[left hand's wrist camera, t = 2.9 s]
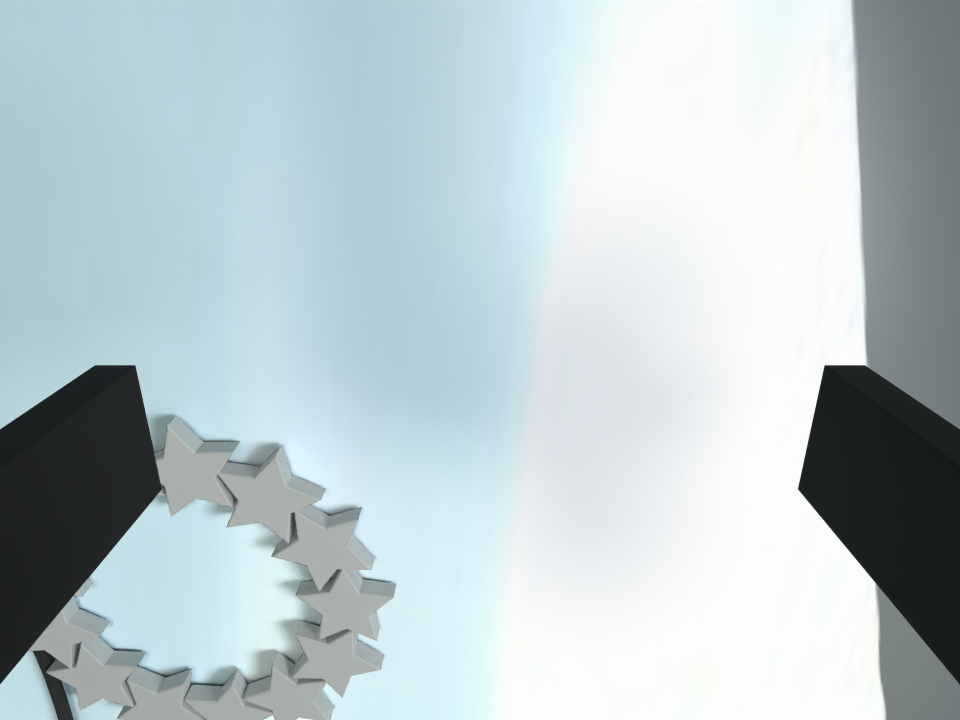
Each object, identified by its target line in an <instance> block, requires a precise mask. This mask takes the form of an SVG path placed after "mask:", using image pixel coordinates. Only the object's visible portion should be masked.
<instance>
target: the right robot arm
mask: <svg viewBox="0 0 960 720" xmlns="http://www.w3.org/2000/svg"><path fill="white" fill-rule="evenodd" d="M33 652H34V654H35V657H36V659H37V661H38V663H39V666H40V668H41V671H42V673H43V676H44V679H45V681H46V684H47V687H48V689H49V692H50V695H51V698H52V701H53V704H54V707H55V710H56V713H57V716H58V720H73V716H72V713H71V709H70V706H69V703H68V699H67V696H66V693H65V690H64V687H63V684H62V682H61V680H60V679H58V678H56V677H54V676H52V675H50V674H48V673H47V670H48V669H49V668H50V666H51V665H52V664H53V662H54V660H53V657H52V655H51V654H49V653H48V652H47V651H45V650H37V651H33Z"/></svg>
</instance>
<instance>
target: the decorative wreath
mask: <svg viewBox="0 0 960 720" xmlns="http://www.w3.org/2000/svg"><path fill="white" fill-rule="evenodd" d="M239 442H240V441H230V442H203V441H202V440H201V439H200V438H199V437H198V436H197V435H196V434H195V433H194V432H193V431H192V430H191V429H190V428H189V427H188V426H187V425H186V424H185V423H184V422H183V421H182V420H181V419H180V418H179V417H178V416H176V417H175V418H174V419H173V420H172V421H171V422H170V423H169V424H168V425H167V432H166V440H165V447H164V450H161V451H158V452H155V453H154V454H155V459H156V464H157V468H158V473H159V478H160V482H161V487H162V490H161V491H160V492H159V493H158V495H157V496H162V495H165V494H166V495H167V500H168V504H169V509H170V513H171V517H172V516H173V515H175V514H176V513H177V512H179V511H180V510H181V509H183V508H184V507H185V506H187V505H188V504H189V503H191V502H192V501H193V500H195V499H196V498H197V499H201V500H205V501H209V502H213V503H217V504H221V505H225V506H229V507H232V508H233V506H234V505H235V503H236V502H237V500H238V502H237V504H236V506H235V509H234V511H233V513H232V515H231V518H230V520H229V522H228V524H227V527H232V526H239V525H246V524H253V523H260V522H261V523H262V524H264V525H265V526H266V527H268V528H269V529H270V530H272V531H273V532H274V533H276V534H277V535H278V536H280V537H281V538H282V539H284V540H282V541H281V542H279V543H277V545H276V547H275V549H274V552H273V554H272V557H275V558H279V559H283V560H287V561H291V562H295V563H299V564H303V565H306V567H307V569H308V571H309V573H310V575H311V577H312V579H313V581H307V582H301V583H300V585H299V588H298V591H297V593H296V596H297V597H298V598H300V599H301V600H302V601H304V602H305V603H306V604H308V605H309V606H311V607H312V608H313V609H315V610H316V611H317V612H319V613H320V614H322V616H321V624H320V626H317V625H314V624H310V623H306V622H303V621H300V623H299V626H298V629H297V631H296V634H295V635H296V637H297V639H298V641H299V643H300V645H301V647H302V649H303V651H304V652H305V653H304V654H303V655H302V657H301V658H300V659H299V660H298V661H297V662H296V663H295V664H294V663H292V662H291V661H290V660H288V659H287V658H286V657H284V656H283V655H282V654H280V653H279V652H277V654H276V657H275V660H274V662H273V665H272V672H271V676H270V677H267V678H264V679H261V680H258V681H255V682H253V683H250V684H248V685H247V683H246V681H245V679H244V678H243V676H242V674H241V672H240V670H239V669H238V670H237V671H236V672H235V673H234V674H233V675H232V676H231V678H230V679H229V680H228V681H227V682H226V683H225V684H224V686H210V685H192V686H191V688H190V682H191V671H192V669H189V670H186V671H183V672H181V673H178V674H175V675H172V676H169V677H166V678H165V677H163V676H161V675H158V674H156V673H153V672H151V671H148V670H146V669H144V668H141V667H139V666H138V664H139V663H140V661H141V659H142V658H143V656H144V654H145V653H146V652H135V651H116V650H113V649H112V648H111V647H110V646H109V645H108V644H107V643H106V642H105V641H104V640H103V639H102V638H100V637H99V636H100V635H101V634H102V633H103V631H104V630H105V628H106V627H107V626H108V624H109V623H110V622H109V621H108V620H105V619H103V618H100V617H98V616H96V615H93V614H91V613H89V612H86V611H84V610H82V609H79V608H78V605H77V602H76V599H75V597H74V596H78V597H83V595H84V594H85V593H86V592H87V590H88V589H89V588H90V587H91V585H92V584H93V583H92V581H91V580H90V579H89V578H88V579H87V580H86V581H85V583H84V584H83V585H82V586H81V587H80V589H79V590H78V591H77V592H76V593H75V595H74V596H73V597H72V598H71V599H70V601H69V602H68V603H67V604H66V605H65V607H64V608H63V609H62V610H61V612H60V613H59V614H58V615H57V616H56V618H55V619H54V620H53V621H52V622H51V624H50V625H49V626H48V627H47V628H46V630H45V631H44V632H43V633H42V634H41V636H40V637H39V638H38V639H37V640H36V642H35V643H34V644H33V645H32V646H31V648H30V649H29V650H28V651H37V650H45V651H47V652H48V653H49V654H51V655H52V656H53V657H55V658H56V660H55V661H54V662H53V664H52V665H51V666H50V668H49V669H48V670H47V673H48V674H50V675H52V676H54V677H56V678H58V679H60V680H61V681H63V682H65V683H67V684H69V685H71V686H73V687H75V688H76V692H77V697H78V702H79V707H80V710H82V709H84V708H86V707H88V706H89V705H91V704H93V703H95V702H97V701H99V700H101V699H106V700H109V701H113V702H116V703H120V704H123V705H124V707H123V709H122V710H121V712H120V714H119V716H118V717H117V719H121V720H263V719H265V718H267V717H269V716H272V715H274V718H275V720H296V719H297V718H299V717H300V718H306V719H313V720H331V716H332V712H333V708H334V706H333V705H332V703H331V702H330V701H329V699H328V698H327V697H326V696H325V694H324V693H323V692H322V689H323V687H324V686H325V684H326V683H328V684H329V685H330V686H331V687H332V688H333V689H334V690H335V691H336V692H337V693H338V694H339V695H340V696H341V697H342V698H343V695H344V693H345V690H346V687H347V685H348V682H349V679H350V677H351V676H353V675H357V674H362V673H367V672H372V671H376V670H381V668H382V662H383V656H384V655H383V654H382V653H380V652H378V651H376V650H374V649H372V648H371V647H369V646H367V645H365V644H363V643H362V642H360V641H358V640H357V633H359V634H361V635H364V636H366V637H369V638H371V639H373V640H376V641H377V639H378V634H379V629H380V625H379V621H378V618H377V614H376V611H377V610H378V609H379V608H380V607H382V606H383V605H384V604H386V603H387V602H388V601H389V600H391V599H392V598H393V597H394V592H395V587H396V584H394V583H387V582H380V581H372V580H365V579H362V577H361V576H360V574H359V573H358V571H357V570H372V566H373V562H374V556H373V555H372V554H371V553H370V552H369V551H368V549H367V548H366V547H365V546H364V545H363V544H362V543H361V542H360V541H359V540H358V539H357V538H356V537H355V536H354V535H353V533H354V530H355V527H356V524H357V521H358V518H359V514H360V511H361V508H362V507H359V508H356V509H352V510H349V511H345V512H342V513H338V514H334V515H331V516H329V515H327V514H325V513H324V512H322V511H320V510H319V509H317V508H315V507H313V506H312V505H311V504H313V503H316V502H318V501H320V500H321V499H322V496H323V494H324V491H325V488H323V487H320V486H318V485H315V484H313V483H310V482H308V481H305V480H303V479H300V478H298V477H296V476H293V475H292V473H291V470H290V467H289V463H288V460H287V457H286V453H285V450H284V447H283V444H282V445H281V446H280V447H279V448H278V449H277V450H276V451H275V452H274V453H273V454H272V455H271V456H270V457H269V458H268V459H267V460H266V461H265V463H264V464H263V465H262V466H261V467H259V466H252V465H245V464H238V463H231V462H227V461H228V459H229V458H230V456H231V455H232V453H233V452H234V450H235V449H236V447H237V445H238V444H239ZM295 522H296V529H297V532H295V533H294V526H295ZM337 569H338V571H337V573H336V575H335V576H334V578H333V579H330V577H331V576H332V575H333V574H334V572H335V571H336V570H337Z"/></svg>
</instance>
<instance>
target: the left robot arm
mask: <svg viewBox="0 0 960 720" xmlns="http://www.w3.org/2000/svg"><path fill="white" fill-rule="evenodd" d="M161 490H162V487H161V482H160V478H159V473H158V468H157V464H156V459H155V454H154V450H153V445H152V441H151V436H150V431H149V427H148V422H147V417H146V413H145V408H144V403H143V399H142V394H141V390H140V385H139V380H138V376H137V371H136V366H135V365H95V366H93V367H92V368H91V369H89V370H88V371H86V372H85V373H83V374H82V375H80V376H79V377H77V378H76V379H74V380H73V381H71V382H70V383H68V384H67V385H65V386H64V387H62V388H61V389H59V390H58V391H56V392H55V393H53V394H52V395H51V396H49V397H48V398H46V399H45V400H43V401H42V402H40V403H39V404H37V405H36V406H34V407H33V408H31V409H30V410H28V411H27V412H25V413H24V414H22V415H21V416H19V417H18V418H16V419H15V420H13V421H12V422H11V423H9V424H8V425H6V426H5V427H3V428H2V429H0V684H1V683H2V681H3V680H4V679H5V678H6V677H7V675H8V674H9V673H10V672H11V671H12V669H13V668H14V667H15V666H16V665H17V663H18V662H19V661H20V660H21V659H22V657H23V656H24V655H25V654H26V653H27V651H28V650H29V649H30V648H31V646H32V645H33V644H34V643H35V642H36V640H37V639H38V638H39V637H40V636H41V634H42V633H43V632H44V631H45V630H46V628H47V627H48V626H49V625H50V624H51V622H52V621H53V620H54V619H55V618H56V616H57V615H58V614H59V613H60V612H61V610H62V609H63V608H64V607H65V605H66V604H67V603H68V602H69V601H70V599H71V598H72V597H73V596H74V595H75V593H76V592H77V591H78V590H79V589H80V587H81V586H82V585H83V584H84V583H85V581H86V580H87V579H88V578H89V577H90V575H91V574H92V573H93V572H94V571H95V569H96V568H97V567H98V566H99V564H100V563H101V562H102V561H103V560H104V558H105V557H106V556H107V555H108V554H109V552H110V551H111V550H112V549H113V548H114V546H115V545H116V544H117V543H118V542H119V540H120V539H121V538H122V537H123V536H124V534H125V533H126V532H127V531H128V530H129V528H130V527H131V526H132V525H133V523H134V522H135V521H136V520H137V519H138V517H139V516H140V515H141V514H142V513H143V511H144V510H145V509H146V508H147V507H148V505H149V504H150V503H151V502H152V501H153V499H154V498H155V497H156V496H157V495H158V493H159V492H160V491H161ZM798 490H799V491H800V492H801V493H802V495H803V496H804V497H805V498H806V499H807V501H808V502H809V503H810V504H811V505H812V507H813V508H814V509H815V510H816V511H817V513H818V514H819V515H820V516H821V517H822V519H823V520H824V521H825V522H826V523H827V525H828V526H829V527H830V528H831V530H832V531H833V532H834V533H835V534H836V536H837V537H838V538H839V539H840V540H841V542H842V543H843V544H844V545H845V546H846V548H847V549H848V550H849V551H850V552H851V554H852V555H853V556H854V557H855V558H856V560H857V561H858V562H859V563H860V564H861V566H862V567H863V568H864V569H865V571H866V572H867V573H868V574H869V575H870V577H871V578H872V579H873V580H874V581H875V583H876V584H877V585H878V586H879V587H880V589H881V590H882V591H883V592H884V593H885V595H886V596H887V597H888V598H889V599H890V601H891V602H892V603H893V604H894V605H895V607H896V608H897V609H898V610H899V611H900V613H901V614H902V615H903V616H904V618H905V619H906V620H907V621H908V622H909V624H910V625H911V626H912V627H913V628H914V630H915V631H916V632H917V633H918V634H919V636H920V637H921V638H922V639H923V640H924V642H925V643H926V644H927V645H928V646H929V648H930V649H931V650H932V651H933V653H934V654H935V655H936V656H937V657H938V659H939V660H940V661H941V662H942V663H943V664H944V666H945V667H946V668H947V669H948V671H949V672H950V673H951V674H952V675H953V677H954V678H955V679H956V680H957V681H958V683H959V684H960V429H958V428H957V427H955V426H954V425H952V424H951V423H949V422H948V421H946V420H945V419H944V418H942V417H941V416H939V415H938V414H936V413H935V412H933V411H932V410H930V409H929V408H927V407H926V406H924V405H923V404H921V403H920V402H918V401H917V400H915V399H914V398H912V397H911V396H909V395H908V394H907V393H905V392H904V391H902V390H901V389H899V388H898V387H896V386H895V385H893V384H892V383H890V382H889V381H887V380H886V379H884V378H883V377H881V376H880V375H878V374H877V373H875V372H874V371H872V370H871V369H869V368H868V367H867V366H865V365H825V366H824V371H823V376H822V380H821V385H820V390H819V394H818V399H817V403H816V408H815V413H814V417H813V422H812V427H811V431H810V436H809V441H808V445H807V450H806V454H805V459H804V464H803V468H802V473H801V478H800V482H799V487H798Z"/></svg>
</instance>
